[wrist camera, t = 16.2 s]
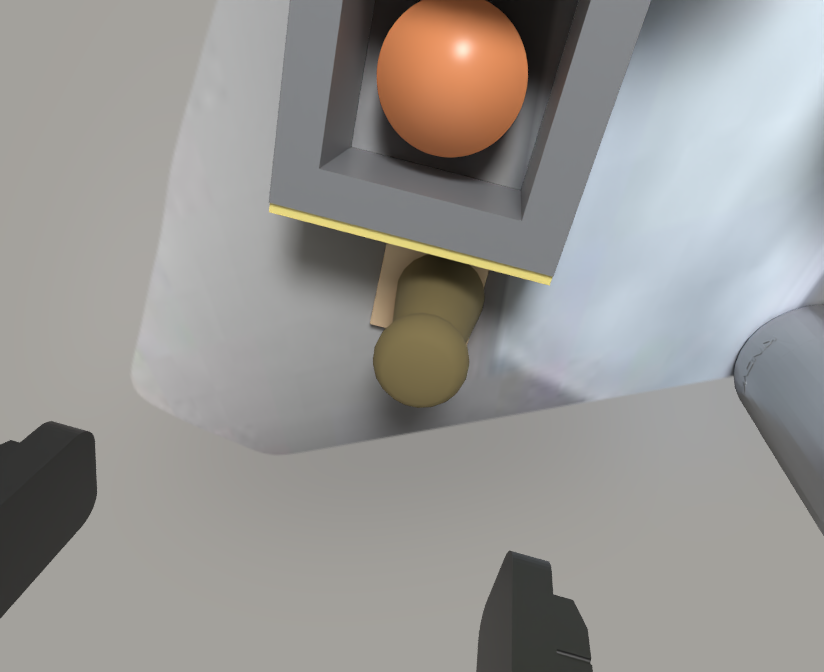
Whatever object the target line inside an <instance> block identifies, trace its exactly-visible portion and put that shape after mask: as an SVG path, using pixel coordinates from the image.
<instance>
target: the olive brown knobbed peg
mask: <svg viewBox="0 0 824 672" xmlns="http://www.w3.org/2000/svg"><path fill="white" fill-rule="evenodd" d="M484 299H485V295H484V287H483V283H482V281H481V279H480V277H479V275H478V273H477V272H476V271H475V270H474V269H473V268H472V267H471V266H470V265H469V264H466V263H462V262H458V261H454V260H450V259H447V258H443V257H439V256H435V255H431V254H426V255H424V256H422V257H420V258H417V259H415V260H413V261H412V262H411V263H410V264H409V265H408V266H407V267H406V268H405V269H404V270H403V272H402V274H401V276H400V278H399V280H398V284H397V291H396V298H395V306H394V314H393V322H392V323H391V324H390V325H389V326H388V327H387V328H386V329H385V330H384V331H383V332H382V334H381V336H380V338H379V340H378V342H377V344H376V346H375V349H374V357H373V366H374V370H375V375H376V378H377V380H378V381H379V383H380V385H381V387H382V388H383V389H384V390H385V391H386V392H387V393H388V394H389V395H390V396H391V397H392V398H393V399H395V400H397V401H399V402H400V403H402V404H404V405H408V406H412V407H417V408H420V407H433V406H436V405H438V404H441V403H444V402H446V401H448V400H449V399H450V398H451V397H453V396H454V395H455V394H456V393H457V392H458V390H459V389H460V387H461V386H462V384H463V383H464V381H465V380H466V376H467V372H468V367H469V355H468V348H467V345H466V343H467V341H468V339H469V337H470V335H471V333H472V330H473V328H474V326H475V324H476V322H477V320H478V318H479V316H480V314H481V311H482V308H483V304H484Z"/></svg>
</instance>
